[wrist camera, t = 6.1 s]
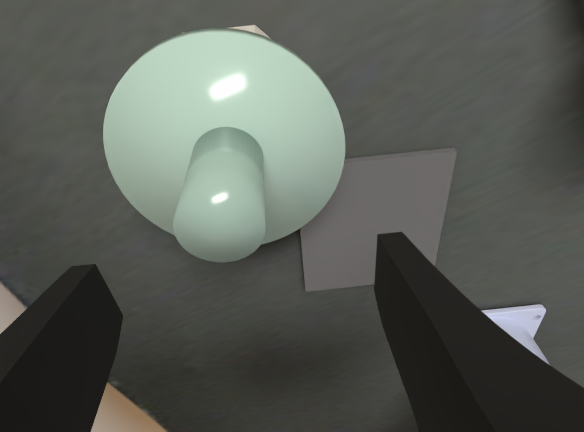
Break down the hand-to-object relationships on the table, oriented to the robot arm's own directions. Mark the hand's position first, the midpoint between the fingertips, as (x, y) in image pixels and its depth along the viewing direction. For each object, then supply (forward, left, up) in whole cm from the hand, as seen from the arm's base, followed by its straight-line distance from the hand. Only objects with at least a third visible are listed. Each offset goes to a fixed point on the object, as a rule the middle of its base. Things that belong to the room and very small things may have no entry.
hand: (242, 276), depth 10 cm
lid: (0, +1, -6) cm, 6 cm away
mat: (-7, -6, -10) cm, 13 cm away
